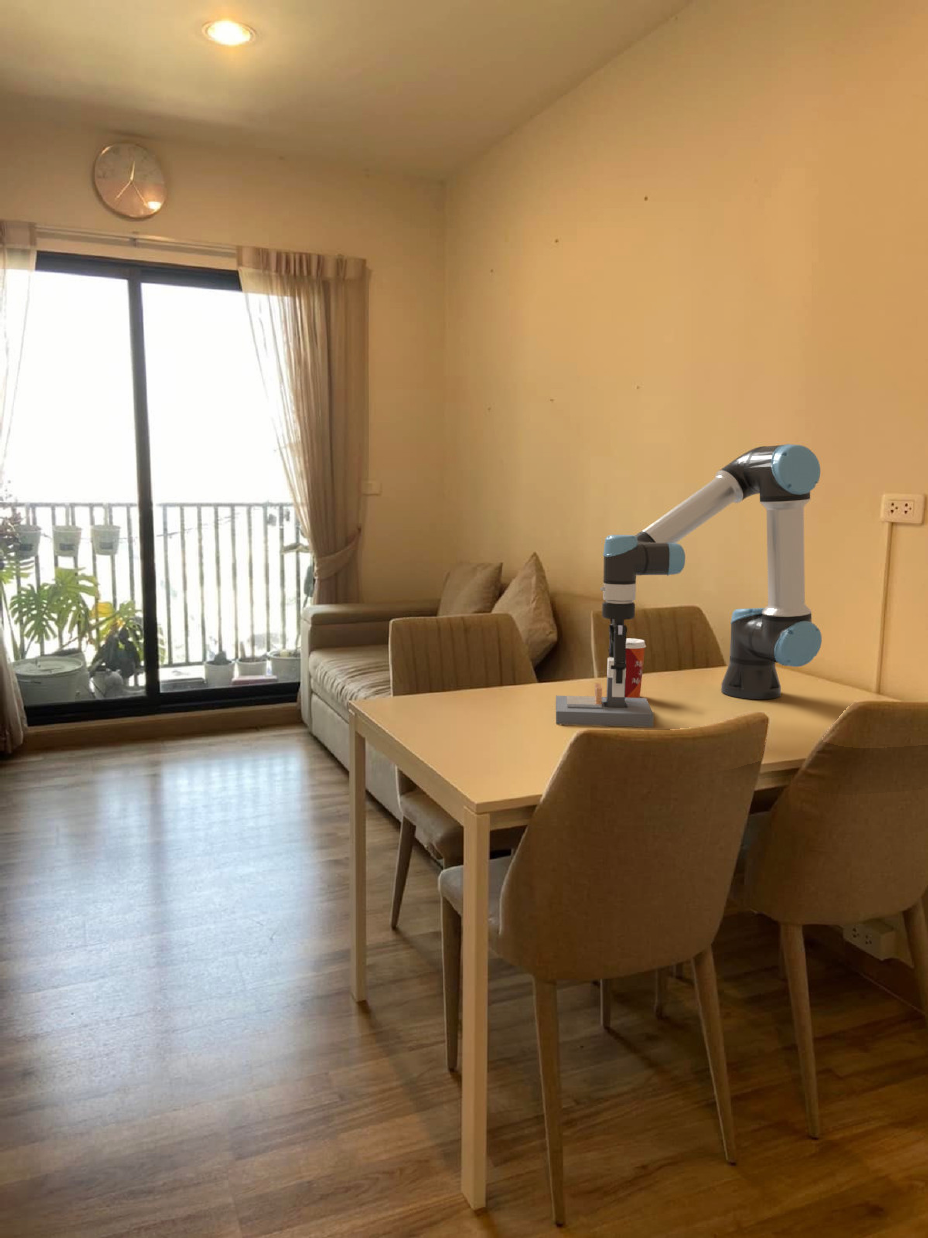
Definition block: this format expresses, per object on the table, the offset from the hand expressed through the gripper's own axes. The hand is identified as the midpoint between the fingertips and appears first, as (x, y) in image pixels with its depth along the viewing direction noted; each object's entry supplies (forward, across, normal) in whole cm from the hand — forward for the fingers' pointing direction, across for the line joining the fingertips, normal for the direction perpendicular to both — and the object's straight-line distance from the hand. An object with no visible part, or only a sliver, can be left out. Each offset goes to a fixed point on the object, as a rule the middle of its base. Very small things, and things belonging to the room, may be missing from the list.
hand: (615, 690), depth 211 cm
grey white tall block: (+7, 0, 0) cm, 7 cm away
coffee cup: (+7, -22, +5) cm, 24 cm away
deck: (+7, 0, -3) cm, 7 cm away
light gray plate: (+3, 0, -8) cm, 8 cm away
